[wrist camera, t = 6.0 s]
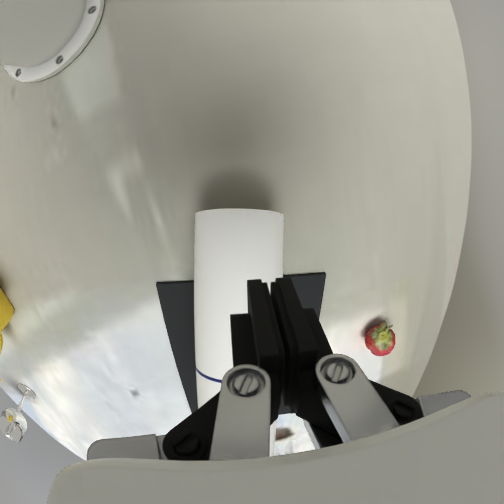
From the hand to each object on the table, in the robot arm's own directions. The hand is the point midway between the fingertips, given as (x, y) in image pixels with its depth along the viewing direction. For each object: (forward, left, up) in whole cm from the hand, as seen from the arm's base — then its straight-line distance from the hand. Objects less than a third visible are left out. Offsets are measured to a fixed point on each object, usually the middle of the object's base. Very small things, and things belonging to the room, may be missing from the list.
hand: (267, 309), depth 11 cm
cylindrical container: (0, -1, -13) cm, 13 cm away
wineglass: (+13, -55, -16) cm, 58 cm away
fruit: (+25, +8, -16) cm, 31 cm away
